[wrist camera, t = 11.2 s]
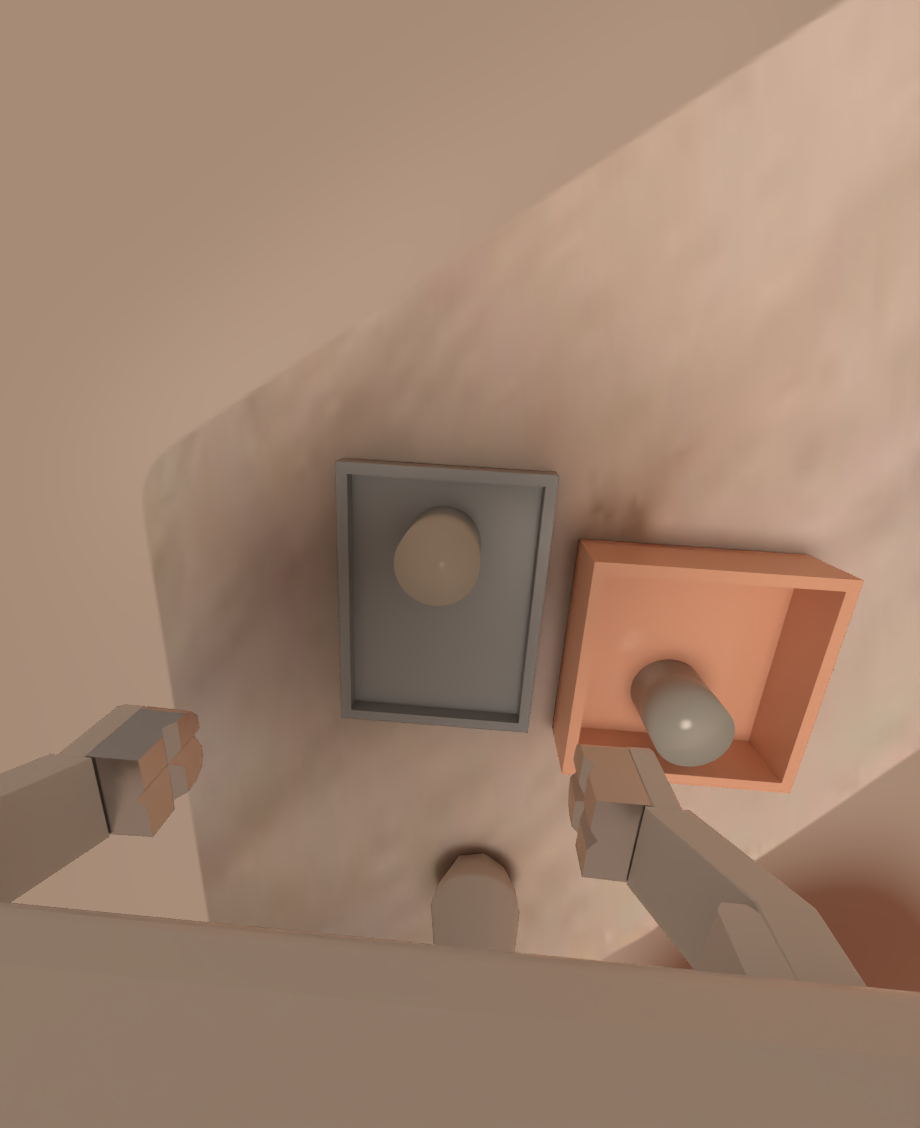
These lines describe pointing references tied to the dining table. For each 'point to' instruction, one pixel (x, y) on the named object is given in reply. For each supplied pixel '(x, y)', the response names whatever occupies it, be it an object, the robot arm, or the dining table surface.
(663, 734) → the pebble
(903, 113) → the dining table surface
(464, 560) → the pebble
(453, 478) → the tray
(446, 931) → the salt shaker
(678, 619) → the open box
